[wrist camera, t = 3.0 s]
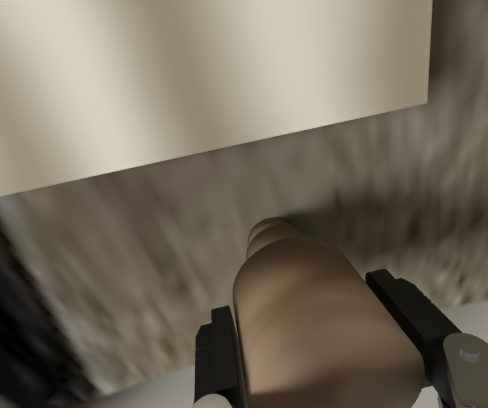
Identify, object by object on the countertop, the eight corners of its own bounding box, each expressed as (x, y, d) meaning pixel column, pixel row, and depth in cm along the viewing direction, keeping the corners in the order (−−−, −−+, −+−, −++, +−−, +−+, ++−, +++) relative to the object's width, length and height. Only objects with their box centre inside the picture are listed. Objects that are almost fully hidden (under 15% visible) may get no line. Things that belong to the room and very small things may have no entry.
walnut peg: (313, 186, 17) (430, 307, 8) (321, 267, 19) (421, 429, 10) (215, 208, 17) (231, 355, 8) (235, 287, 19) (264, 470, 10)
